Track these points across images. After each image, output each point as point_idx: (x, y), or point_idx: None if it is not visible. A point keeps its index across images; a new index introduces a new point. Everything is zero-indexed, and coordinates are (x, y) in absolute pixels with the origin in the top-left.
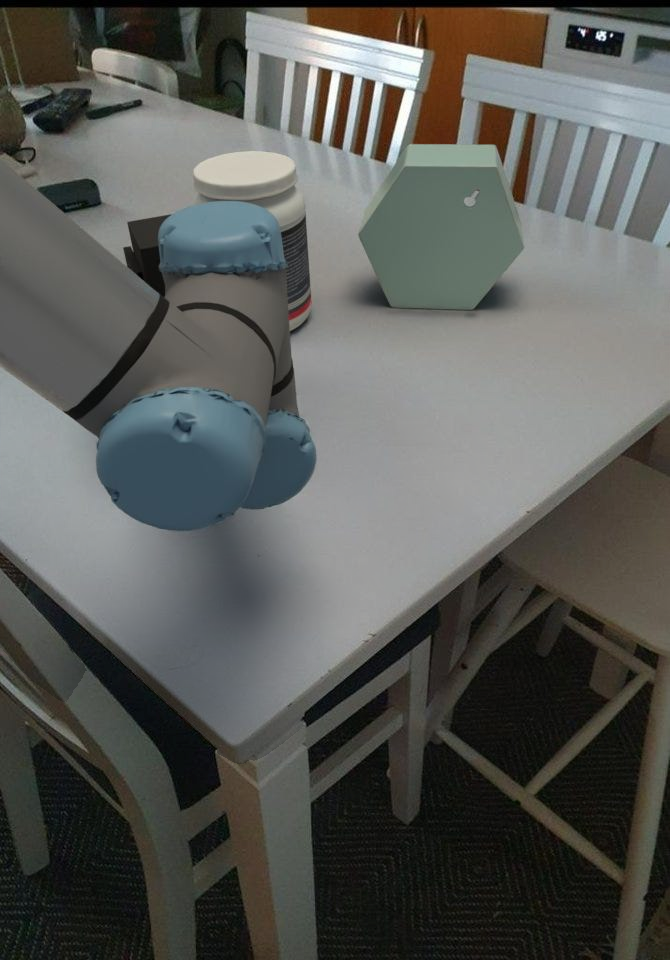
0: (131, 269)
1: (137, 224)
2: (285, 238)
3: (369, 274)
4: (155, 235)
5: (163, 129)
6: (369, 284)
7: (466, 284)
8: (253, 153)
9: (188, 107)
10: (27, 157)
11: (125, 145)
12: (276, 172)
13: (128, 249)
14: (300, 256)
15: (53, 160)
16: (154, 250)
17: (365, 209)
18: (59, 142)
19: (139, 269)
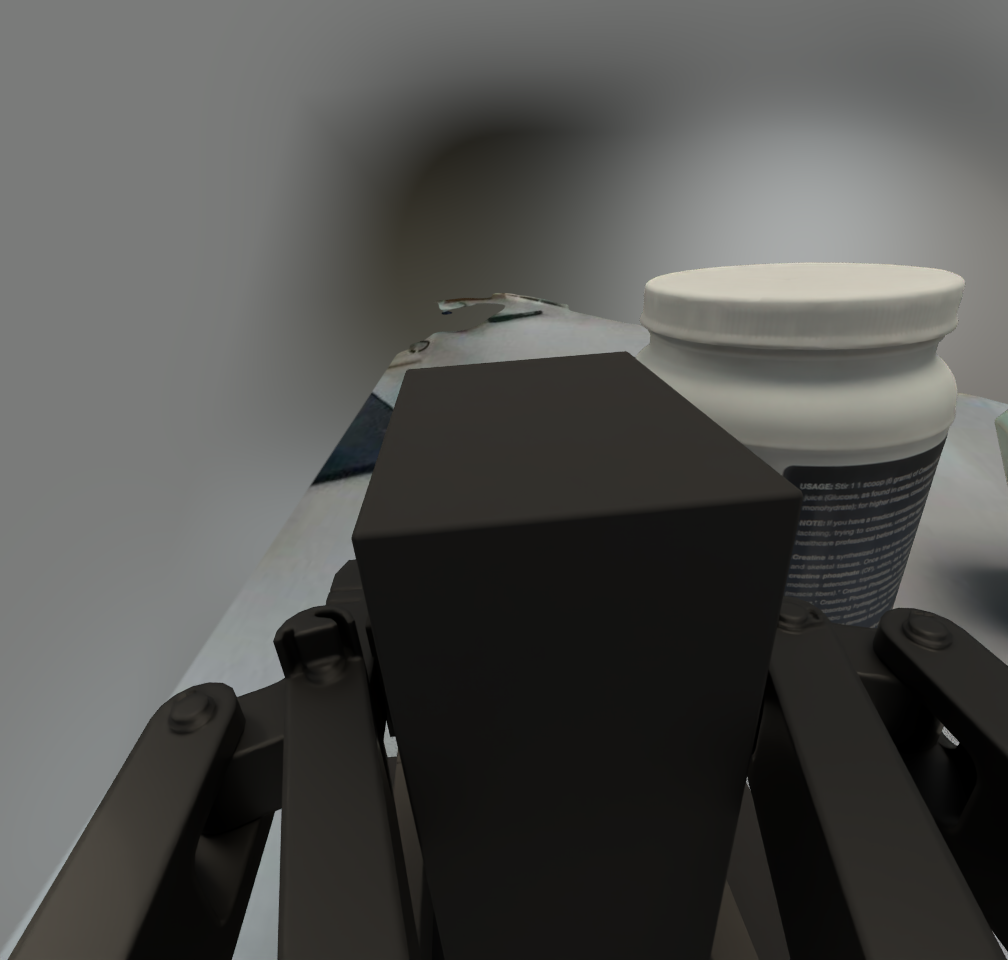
0: (343, 614)
1: (439, 380)
2: (914, 476)
3: (944, 545)
4: (505, 436)
5: (559, 330)
6: (963, 571)
7: None
8: (788, 264)
9: (586, 315)
10: (419, 347)
11: (518, 341)
12: (914, 281)
13: None
14: (918, 524)
15: (442, 350)
16: (469, 553)
17: (1001, 416)
18: (455, 337)
19: None
